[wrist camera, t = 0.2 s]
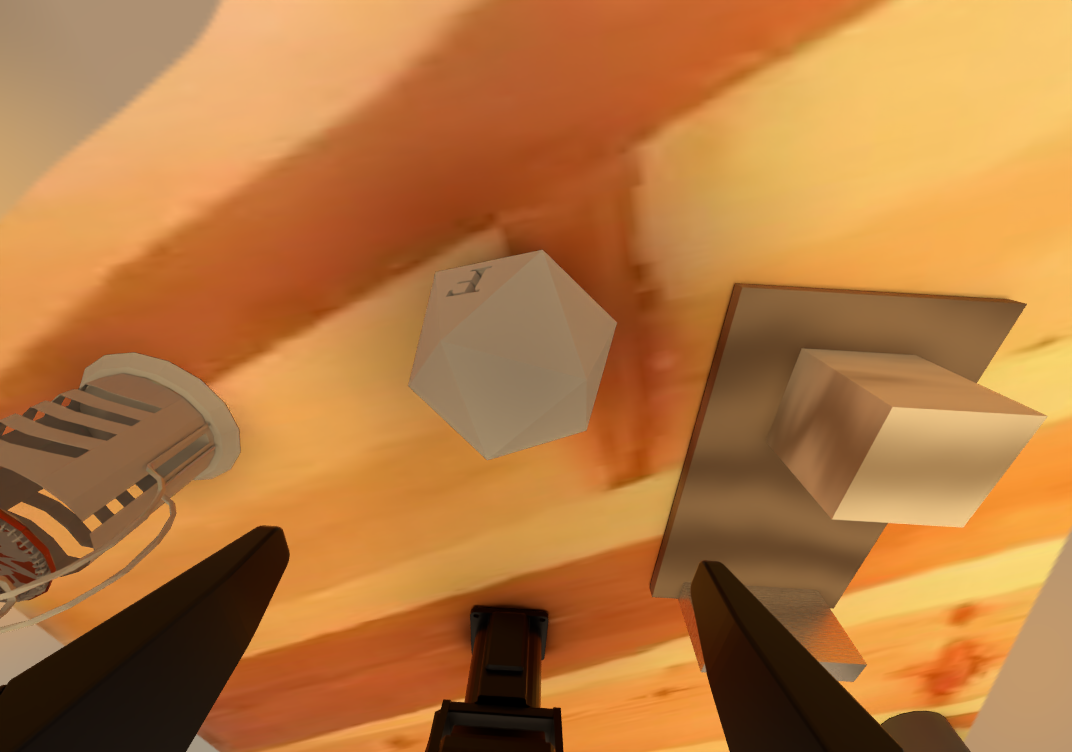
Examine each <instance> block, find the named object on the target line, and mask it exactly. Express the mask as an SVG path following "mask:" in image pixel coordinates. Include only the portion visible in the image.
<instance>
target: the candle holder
mask: <svg viewBox="0 0 1072 752" xmlns="http://www.w3.org/2000/svg"><path fill="white" fill-rule="evenodd" d="M881 726H882V727H883V728H884V729H885V730H886V731H887V732H888V733H889V734H890V735H891V736H892V738H893V739H894V740H895V741H896V742H897V743H898V744H899V745H900V746H901V747H902V748H903V750H904V752H970V750H969V749H968V748H967V746H966V745H965V744H964V742H963V741H962V740H961V738H960V737H959V736H958V734H957V733H956V732H955V730H954V729H953V728H952V726H951V725H950V723H949V722H948V721H947V719H946V718H945V717H943V716H942V715H940V714H939V713H934V712H929V711H922V712H910V713H905V714H901V715H898V716H895V717H893V718H890V719H888V720H887V721H886V722H884V723H883V724H881Z"/></svg>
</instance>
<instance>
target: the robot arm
mask: <svg viewBox="0 0 1072 752" xmlns="http://www.w3.org/2000/svg"><path fill="white" fill-rule="evenodd" d="M289 557H290V553H289V548H288V545H287V542H286V538H285V535H284V532H283V529H282V528H280V527H278V526H266V525H264V526H259V527H256V528H255V529H253V530H251V531H250V532H248V533H247V534H245V535H243V536H242V537H240V538H238V539H237V540H235V541H234V542H232V543H230V544H229V545H227V546H226V547H224V548H222V549H221V550H219V551H218V552H216V553H214V554H213V555H211V556H209V557H208V558H206V559H205V560H203V561H201V562H200V563H198V564H197V565H195V566H193V567H192V568H190V569H189V570H187V571H185V572H184V573H182V574H180V575H179V576H177V577H176V578H174V579H172V580H171V581H169V582H168V583H166V584H164V585H163V586H161V587H160V588H158V589H156V590H155V591H153V592H151V593H150V594H148V595H147V596H145V597H143V598H142V599H140V600H139V601H137V602H135V603H134V604H132V605H130V606H129V607H127V608H126V609H124V610H122V611H121V612H119V613H118V614H116V615H114V616H113V617H111V618H110V619H108V620H106V621H105V622H103V623H101V624H100V625H98V626H97V627H95V628H93V629H92V630H90V631H89V632H87V633H85V634H84V635H82V636H81V637H79V638H77V639H76V640H74V641H72V642H71V643H69V644H68V645H66V646H64V647H63V648H61V649H60V650H58V651H56V652H55V653H53V654H52V655H50V656H48V657H47V658H45V659H44V660H42V661H40V662H39V663H37V664H36V665H34V666H32V667H31V668H29V669H27V670H26V671H24V672H23V673H21V674H19V675H18V676H16V677H14V678H13V679H11V680H10V681H9V682H8V684H7V685H2V686H0V752H186V751H187V749H188V747H189V745H190V744H191V742H192V741H193V739H194V737H195V736H196V734H197V732H198V730H199V729H200V727H201V725H202V724H203V722H204V720H205V719H206V717H207V715H208V713H209V712H210V710H211V708H212V707H213V705H214V703H215V701H216V700H217V698H218V696H219V695H220V693H221V691H222V690H223V688H224V686H225V684H226V683H227V681H228V679H229V678H230V676H231V674H232V673H233V671H234V669H235V667H236V666H237V664H238V662H239V661H240V659H241V657H242V656H243V654H244V652H245V650H246V649H247V647H248V645H249V643H250V641H251V639H252V638H253V636H254V634H255V632H256V630H257V628H258V626H259V623H260V621H261V619H262V617H263V615H264V613H265V611H266V609H267V607H268V605H269V602H270V600H271V598H272V596H273V594H274V592H275V590H276V588H277V586H278V583H279V581H280V579H281V577H282V575H283V573H284V571H285V569H286V567H287V564H288V561H289ZM690 593H691V599H692V604H693V609H694V614H695V619H696V624H697V629H698V634H699V639H700V644H701V649H702V654H703V659H704V664H705V668H706V672H707V677H708V680H709V684H710V687H711V691H712V694H713V698H714V701H715V704H716V708H717V711H718V714H719V718H720V721H721V724H722V728H723V731H724V734H725V738H726V741H727V744H728V747H729V751H730V752H904V750H903V748H902V747H901V746H900V745H899V744H898V743H897V742H896V741H895V740H894V739H893V738H892V736H891V735H890V734H889V733H888V732H887V731H886V730H885V729H884V728H883V727H882V726H881V725H880V724H879V723H878V722H877V721H876V720H875V719H874V718H873V717H872V716H871V715H870V714H869V713H868V712H867V711H866V710H865V709H864V708H863V707H862V706H861V705H860V704H859V703H858V702H857V701H856V700H855V698H854V697H853V696H852V695H851V694H850V693H849V692H848V691H847V690H846V689H845V688H844V687H843V686H842V685H841V684H840V683H839V682H838V681H837V680H836V679H835V678H834V677H833V676H832V675H831V674H830V673H829V672H828V671H827V670H826V669H825V668H824V667H823V666H822V665H821V664H820V663H819V662H818V660H817V659H816V658H815V657H814V656H813V655H812V654H811V653H810V652H809V651H808V650H807V649H806V648H805V647H804V646H803V645H802V644H801V643H800V642H799V641H798V640H797V639H796V638H795V637H794V636H793V635H792V634H791V633H790V632H789V631H788V630H787V629H786V628H785V627H784V626H783V625H782V624H781V622H780V621H779V620H778V619H777V618H776V617H775V616H774V615H773V614H772V613H771V612H770V611H769V610H768V609H767V608H766V607H765V606H764V605H763V604H762V603H761V602H760V601H759V600H758V599H757V598H756V597H755V596H754V595H753V594H752V593H751V592H750V591H749V590H748V589H747V588H746V587H745V586H744V584H743V583H742V582H741V581H740V580H739V579H738V578H737V577H736V576H735V575H734V574H733V573H732V572H731V571H730V570H729V569H728V568H727V567H726V566H725V565H724V564H722V563H721V562H719V561H709V560H702V561H701V562H700V563H699V565H698V567H697V570H696V572H695V575H694V578H693V580H692V583H691V587H690ZM470 622H471V647H472V660H471V666H470V672H469V678H468V684H467V690H466V696H465V703H464V702H451V700H443V703H442V707H441V709H440V710H438V711H436V712H435V715H434V720H433V724H432V729H431V733H430V737H429V741H428V744H427V747H426V750H425V752H563V738H562V721H561V708H556V707H553V709H548V708H540V707H541V660H543V659H544V656H545V647H546V638H547V628H548V613H546V612H543V611H528V610H512V609H496V608H480V607H475V608H472V609H471V614H470Z"/></svg>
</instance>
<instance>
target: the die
mask: <svg viewBox="0 0 1072 752" xmlns="http://www.w3.org/2000/svg"><path fill="white" fill-rule="evenodd" d="M616 325H617V322H616V321H615V320H614V319H613V318H612V317H611V316H610V315H609V314H608V313H607V312H606V311H605V310H604V309H603V308H602V307H601V306H600V305H599V304H598V303H597V302H596V301H594V300H593V299H592V298H591V297H590V296H589V295H588V294H587V293H586V292H585V291H584V290H583V289H582V288H581V287H580V286H579V285H578V284H577V283H576V282H575V281H574V280H573V279H572V278H571V277H570V276H569V275H568V274H567V273H566V272H565V271H564V270H563V269H562V268H561V267H560V266H559V265H558V264H557V263H556V262H555V261H554V260H553V259H552V258H551V257H550V256H549V255H548V254H547V253H546V252H545V251H543V250H539V251H534V252H529V253H524V254H519V255H515V256H510V257H505V258H500V259H495V260H491V261H486V262H481V263H476V264H471V265H467V266H462V267H457V268H452V269H447V270H443V271H438V272H435V276H434V280H433V285H432V289H431V293H430V297H429V301H428V306H427V310H426V314H425V318H424V322H423V326H422V331H421V335H420V339H419V343H418V347H417V351H416V356H415V360H414V364H413V368H412V372H411V377H410V381H409V385H408V386H409V387H410V388H411V389H412V390H413V391H414V392H415V393H416V394H417V395H418V396H419V397H420V398H421V399H423V400H424V401H425V402H426V403H427V404H428V405H429V406H430V407H431V408H432V409H433V410H434V411H435V412H436V413H437V414H439V415H440V416H441V417H442V418H443V419H444V420H445V421H446V422H447V423H448V424H449V425H450V426H451V427H452V428H453V429H454V430H456V431H457V432H458V433H459V434H460V435H461V436H462V437H463V438H464V439H465V440H466V441H467V442H468V443H469V444H470V445H472V446H473V447H474V448H475V449H476V450H477V451H478V452H479V453H480V454H481V455H482V456H483V457H484V458H485V459H486V460H490V459H493V458H497V457H500V456H503V455H507V454H510V453H513V452H517V451H520V450H523V449H527V448H530V447H533V446H537V445H540V444H543V443H547V442H550V441H553V440H557V439H560V438H563V437H567V436H570V435H573V434H577V433H580V432H583V431H586V430H587V427H588V423H589V420H590V416H591V413H592V409H593V406H594V402H595V399H596V395H597V392H598V388H599V385H600V381H601V378H602V374H603V371H604V367H605V364H606V360H607V357H608V353H609V350H610V346H611V343H612V339H613V336H614V332H615V329H616Z"/></svg>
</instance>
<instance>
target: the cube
mask: <svg viewBox="0 0 1072 752" xmlns="http://www.w3.org/2000/svg"><path fill="white" fill-rule="evenodd" d="M1047 417H1048V416H1046V415H1044V414H1042V413H1040V412H1037V411H1035V410H1033V409H1031V408H1029V407H1027V406H1025V405H1022V404H1020V403H1018V402H1016V401H1014V400H1012V399H1009V398H1007V397H1005V396H1003V395H1001V394H999V393H996V392H994V391H992V390H990V389H988V388H986V387H983V386H981V385H979V384H977V383H975V382H973V381H970V380H968V379H966V378H964V377H962V376H960V375H957V374H955V373H953V372H951V371H949V370H947V369H945V368H942V367H940V366H938V365H936V364H934V363H932V362H929V361H927V360H925V359H923V358H921V357H919V356H916V355H905V354H889V353H872V352H855V351H838V350H821V349H804V348H802V349H801V351H800V354H799V357H798V359H797V362H796V364H795V367H794V369H793V372H792V375H791V377H790V380H789V382H788V385H787V387H786V390H785V393H784V395H783V398H782V400H781V403H780V405H779V408H778V411H777V413H776V416H775V418H774V421H773V424H772V426H771V429H770V431H769V434H768V436H767V439H766V442H767V443H768V445H769V446H770V447H771V448H772V449H773V451H774V452H775V453H776V454H777V455H778V456H779V458H780V459H781V460H782V461H783V462H784V464H785V465H786V466H787V467H788V468H789V469H790V471H791V472H792V473H793V474H794V475H795V477H796V478H797V479H798V480H799V481H800V482H801V484H802V485H803V486H804V487H805V488H806V490H807V491H808V492H809V493H810V494H811V495H812V497H813V498H814V499H815V500H816V501H817V503H818V504H819V505H820V506H821V507H822V508H823V510H824V511H825V512H826V513H827V514H828V516H829V517H830V518H831V519H834V520H850V521H866V522H883V523H899V524H915V525H931V526H948V527H964V526H965V524H966V523H967V522H968V520H969V519H970V518H971V517H972V515H973V514H974V513H975V511H976V510H977V509H978V507H979V506H980V505H981V503H982V502H983V501H984V499H985V498H986V497H987V496H988V494H989V493H990V492H991V490H992V489H993V488H994V486H995V485H996V484H997V482H998V481H999V480H1000V478H1001V477H1002V476H1003V475H1004V473H1005V472H1006V471H1007V469H1008V468H1009V467H1010V465H1011V464H1012V463H1013V461H1014V460H1015V459H1016V457H1017V456H1018V455H1019V454H1020V452H1021V451H1022V450H1023V448H1024V447H1025V446H1026V444H1027V443H1028V442H1029V440H1030V439H1031V438H1032V436H1033V435H1034V434H1035V432H1036V431H1037V430H1038V429H1039V427H1040V426H1041V425H1042V423H1043V422H1044V421H1045V419H1046V418H1047Z"/></svg>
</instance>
